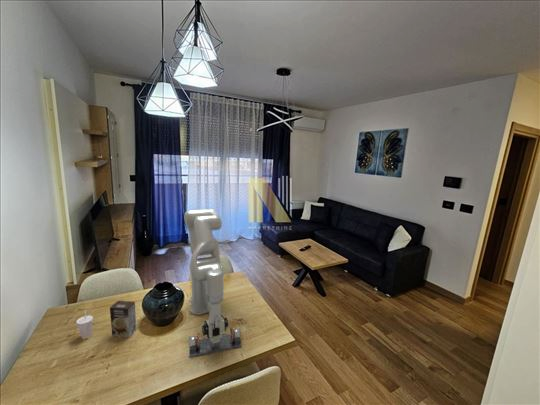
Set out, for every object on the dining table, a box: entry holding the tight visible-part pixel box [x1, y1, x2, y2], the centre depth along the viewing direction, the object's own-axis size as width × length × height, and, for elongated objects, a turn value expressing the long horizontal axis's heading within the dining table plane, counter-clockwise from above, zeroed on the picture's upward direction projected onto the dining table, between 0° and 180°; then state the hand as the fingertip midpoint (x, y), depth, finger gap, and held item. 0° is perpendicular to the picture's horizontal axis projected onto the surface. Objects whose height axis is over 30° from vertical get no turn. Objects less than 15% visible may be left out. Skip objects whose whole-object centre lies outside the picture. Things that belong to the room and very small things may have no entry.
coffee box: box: [109, 300, 137, 338], centre depth 120 cm, size 9×6×16 cm
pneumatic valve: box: [201, 314, 229, 344], centre depth 114 cm, size 6×12×12 cm, turn 121°
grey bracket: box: [188, 326, 242, 359], centre depth 115 cm, size 24×9×7 cm, turn 107°
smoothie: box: [76, 310, 94, 339], centre depth 116 cm, size 6×6×14 cm
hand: (215, 330), depth 114 cm, fingers closed on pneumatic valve, 5 cm apart
